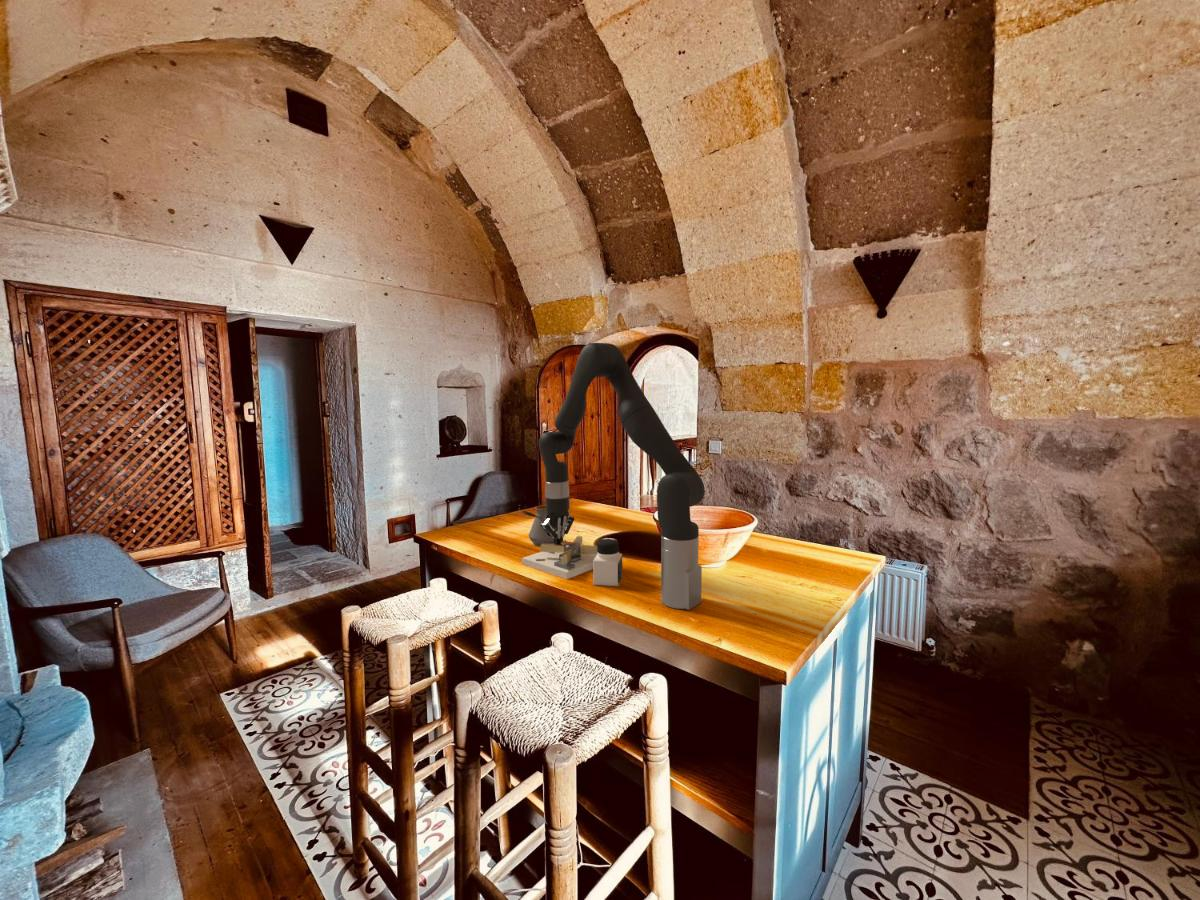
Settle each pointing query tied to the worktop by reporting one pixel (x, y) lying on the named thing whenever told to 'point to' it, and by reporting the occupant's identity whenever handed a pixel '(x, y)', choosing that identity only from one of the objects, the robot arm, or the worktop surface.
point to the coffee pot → (539, 527)
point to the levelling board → (559, 564)
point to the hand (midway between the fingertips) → (558, 548)
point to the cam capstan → (570, 550)
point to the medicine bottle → (607, 563)
